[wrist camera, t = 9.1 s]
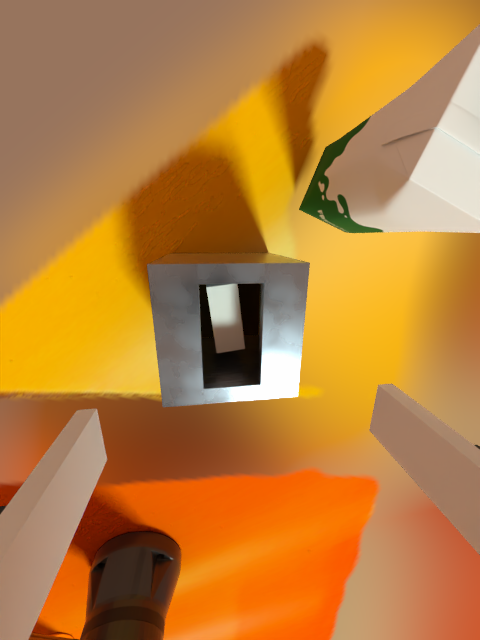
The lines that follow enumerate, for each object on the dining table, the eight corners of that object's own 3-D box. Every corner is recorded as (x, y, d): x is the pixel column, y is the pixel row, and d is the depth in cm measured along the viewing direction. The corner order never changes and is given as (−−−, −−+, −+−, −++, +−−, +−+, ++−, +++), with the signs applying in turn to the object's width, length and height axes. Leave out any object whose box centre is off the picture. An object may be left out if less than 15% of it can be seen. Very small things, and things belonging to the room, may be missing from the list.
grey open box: (265, 340, 35) (297, 396, 23) (178, 345, 34) (162, 407, 21) (268, 252, 31) (309, 262, 19) (170, 253, 30) (147, 264, 18)
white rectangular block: (205, 275, 31) (206, 287, 24) (229, 272, 32) (237, 283, 24) (214, 327, 34) (216, 353, 26) (236, 323, 34) (245, 348, 26)
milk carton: (383, 170, 30) (679, 59, 11) (347, 243, 32) (546, 251, 14) (321, 134, 28) (560, -75, 9) (288, 215, 30) (425, 178, 11)
